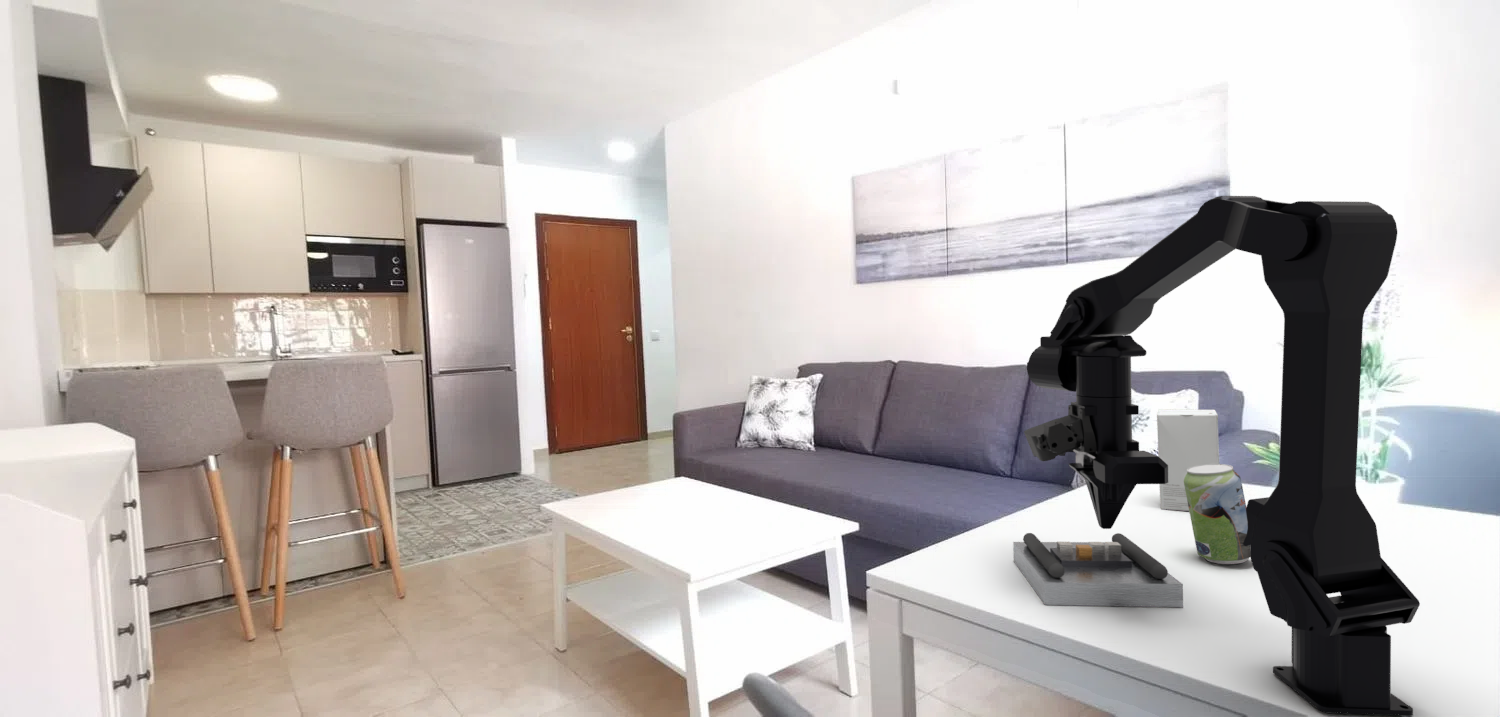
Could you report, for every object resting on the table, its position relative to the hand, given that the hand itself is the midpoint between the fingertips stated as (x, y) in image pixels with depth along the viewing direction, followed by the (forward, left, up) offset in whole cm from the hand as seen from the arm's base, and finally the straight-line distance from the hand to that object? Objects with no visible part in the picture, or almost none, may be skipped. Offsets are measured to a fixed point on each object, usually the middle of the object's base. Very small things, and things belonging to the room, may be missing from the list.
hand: (1105, 527), depth 80 cm
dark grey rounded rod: (0, -3, -4) cm, 5 cm away
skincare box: (+33, -24, -7) cm, 42 cm away
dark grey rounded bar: (0, +7, -4) cm, 8 cm away
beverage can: (+8, -16, -7) cm, 19 cm away
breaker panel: (0, +2, -6) cm, 7 cm away
